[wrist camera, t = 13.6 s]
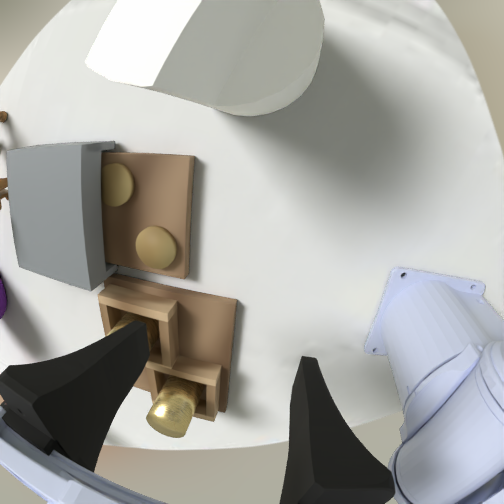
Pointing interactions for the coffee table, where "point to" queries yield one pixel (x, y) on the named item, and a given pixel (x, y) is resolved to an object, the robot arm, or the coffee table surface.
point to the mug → (2, 300)
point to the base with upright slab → (213, 50)
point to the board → (147, 211)
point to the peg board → (178, 336)
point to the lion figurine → (3, 182)
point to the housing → (59, 211)
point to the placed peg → (150, 322)
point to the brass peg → (175, 406)
